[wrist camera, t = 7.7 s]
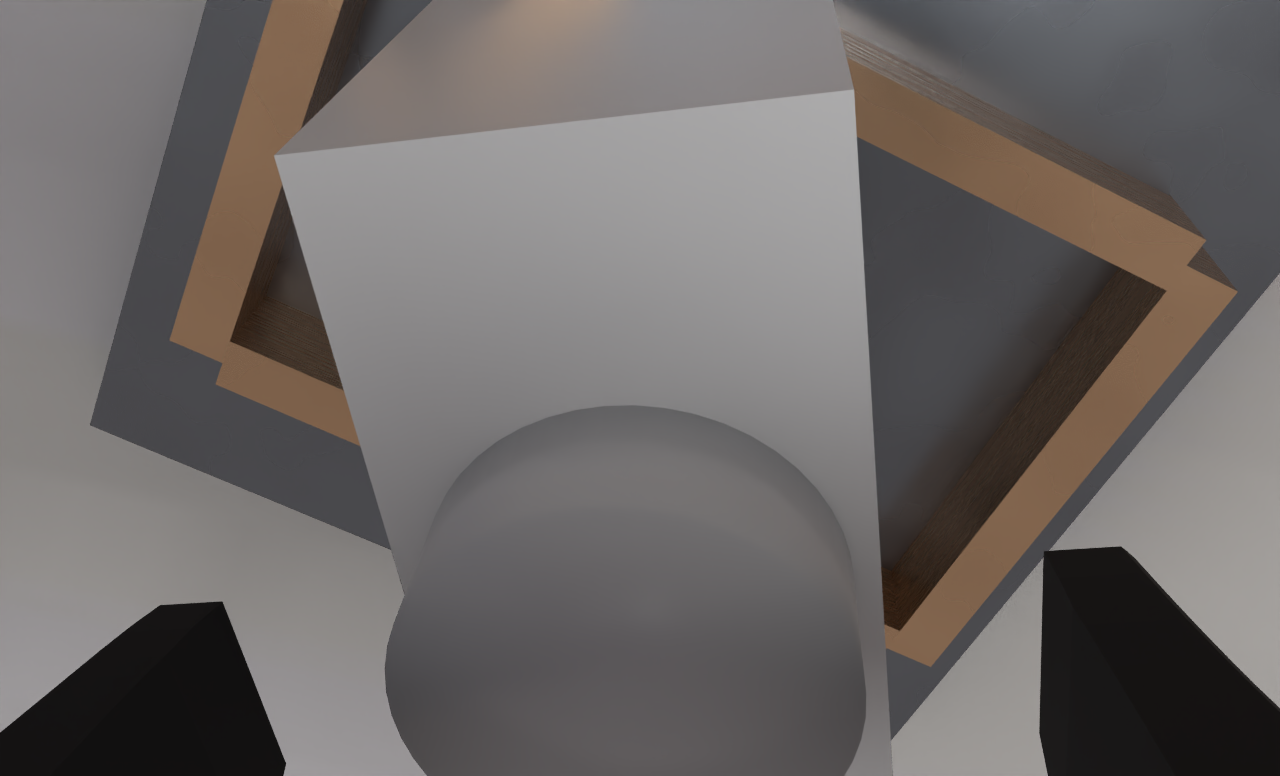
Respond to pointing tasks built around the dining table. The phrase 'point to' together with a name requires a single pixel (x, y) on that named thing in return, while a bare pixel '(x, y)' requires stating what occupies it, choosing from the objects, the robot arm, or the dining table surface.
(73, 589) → the dining table surface
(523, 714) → the grey block
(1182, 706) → the robot arm
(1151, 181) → the duct plate
